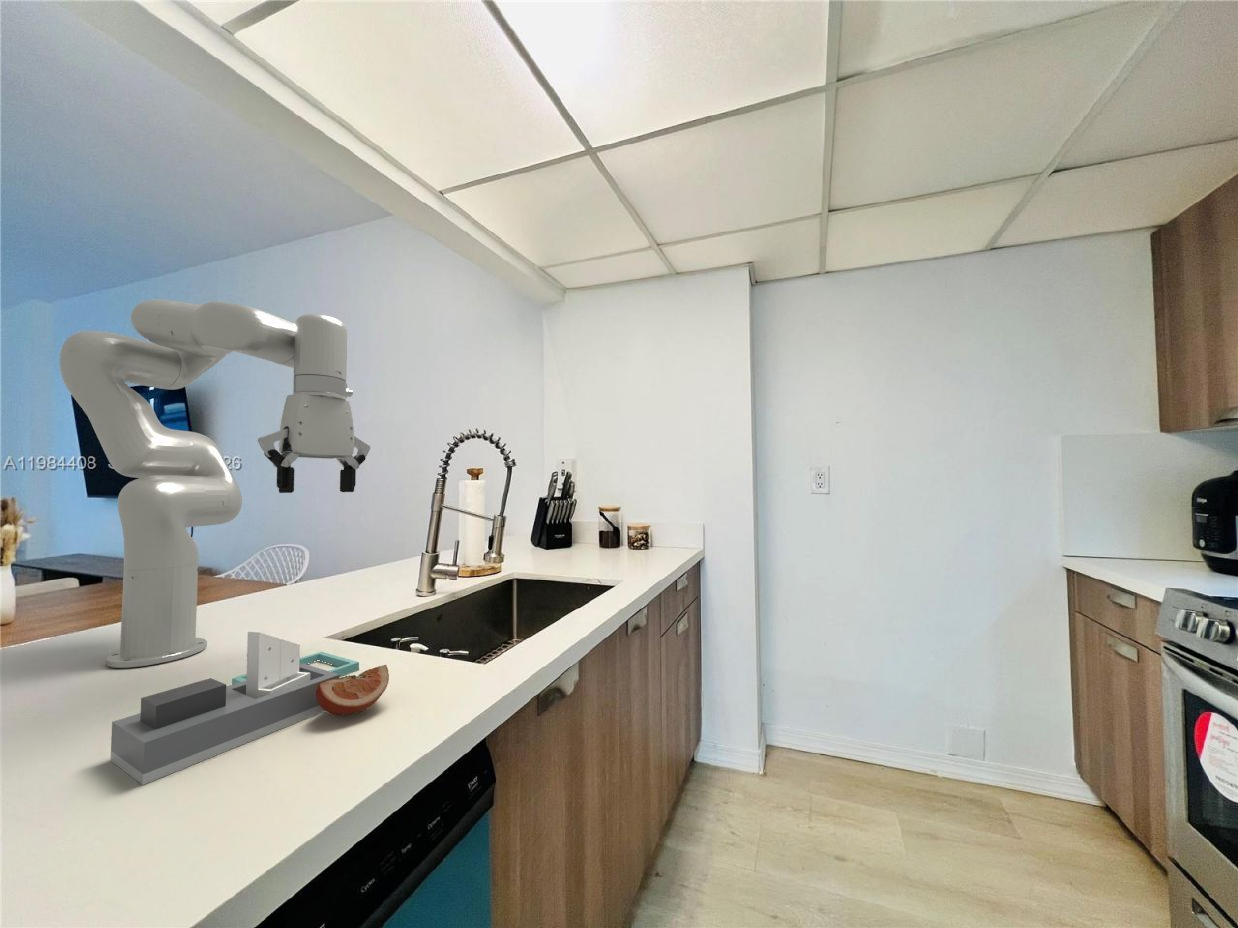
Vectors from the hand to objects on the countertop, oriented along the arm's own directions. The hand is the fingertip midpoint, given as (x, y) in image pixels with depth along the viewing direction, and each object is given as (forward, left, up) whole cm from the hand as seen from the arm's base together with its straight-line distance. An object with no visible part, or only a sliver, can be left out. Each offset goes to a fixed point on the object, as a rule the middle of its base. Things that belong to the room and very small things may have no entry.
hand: (318, 492), depth 78 cm
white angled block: (+13, -11, -28) cm, 33 cm away
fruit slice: (+22, -7, -29) cm, 37 cm away
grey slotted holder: (+14, -16, -28) cm, 35 cm away
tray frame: (+3, -4, -28) cm, 29 cm away
